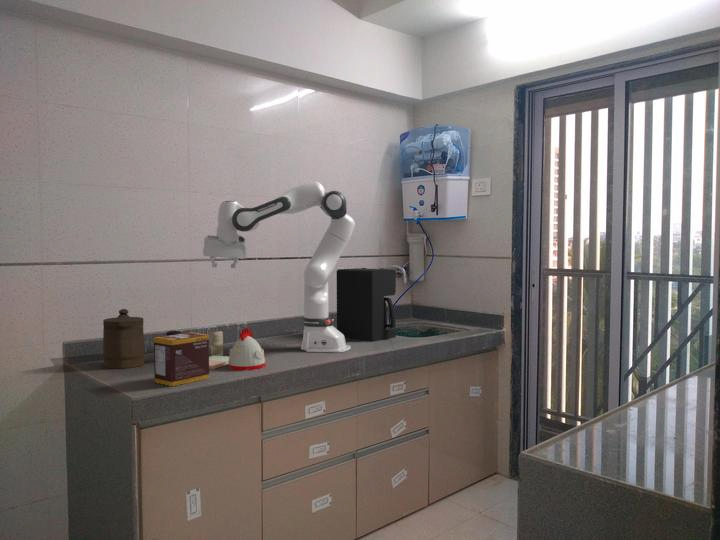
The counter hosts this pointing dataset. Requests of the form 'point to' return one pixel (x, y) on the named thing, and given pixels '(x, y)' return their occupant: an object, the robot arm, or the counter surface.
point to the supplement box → (181, 358)
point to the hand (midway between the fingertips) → (223, 267)
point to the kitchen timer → (246, 353)
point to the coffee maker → (365, 303)
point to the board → (217, 361)
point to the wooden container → (123, 341)
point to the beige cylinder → (217, 343)
